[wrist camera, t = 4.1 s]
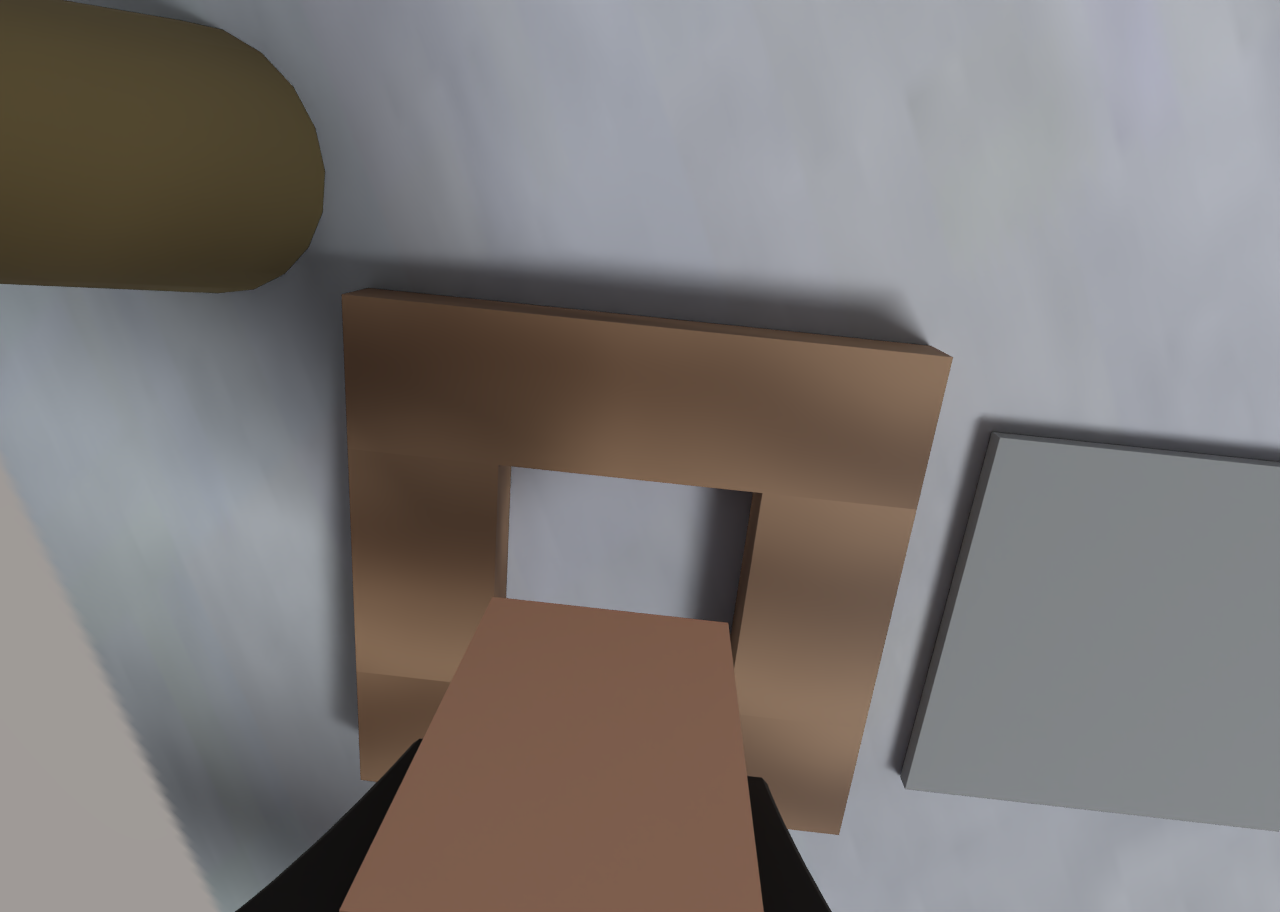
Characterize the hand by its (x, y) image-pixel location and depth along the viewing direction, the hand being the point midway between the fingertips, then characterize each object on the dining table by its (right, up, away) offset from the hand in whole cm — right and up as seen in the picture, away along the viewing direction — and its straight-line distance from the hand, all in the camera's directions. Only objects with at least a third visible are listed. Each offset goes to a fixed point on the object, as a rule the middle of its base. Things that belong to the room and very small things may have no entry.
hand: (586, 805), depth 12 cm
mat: (+15, +1, +8) cm, 17 cm away
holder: (0, +3, +8) cm, 8 cm away
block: (0, +1, +2) cm, 2 cm away
